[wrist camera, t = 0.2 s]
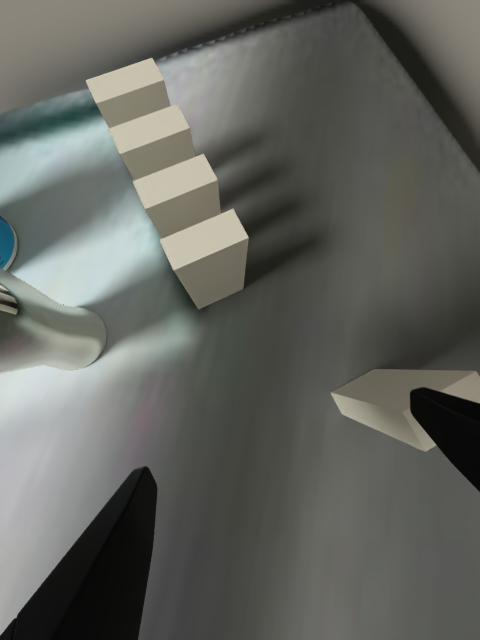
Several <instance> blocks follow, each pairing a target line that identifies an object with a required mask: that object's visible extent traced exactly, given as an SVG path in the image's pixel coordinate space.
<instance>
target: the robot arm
mask: <svg viewBox="0 0 480 640" xmlns="http://www.w3.org/2000/svg"><path fill="white" fill-rule="evenodd" d="M410 411H411V414H412V416H413V417H414V418H415V420H416V421H417V422H418V423H419V424H420V426H421V427H422V428H423V429H424V431H425V432H426V433H427V434H428V435H429V437H430V438H431V439H432V440H433V441H434V443H435V444H436V445H437V446H438V448H439V449H440V450H441V451H442V452H443V454H444V455H445V456H446V457H447V458H448V459H449V461H450V462H451V463H452V464H453V465H454V466H455V467H456V468H457V469H458V470H459V471H460V472H461V473H462V474H463V475H464V476H465V477H466V478H467V479H468V480H469V481H470V482H471V483H472V484H473V486H474V487H475V488H476V489H477V490H478V491H479V492H480V403H477V402H473V401H470V400H467V399H463V398H460V397H457V396H453V395H450V394H446V393H443V392H440V391H436V390H433V389H430V388H426V387H420V388H416V389H413V390H411V391H410ZM156 502H157V484H156V482H155V480H154V478H153V476H152V474H151V472H150V470H149V468H148V467H146V466H144V467H141V468H137V469H135V470H133V471H132V472H131V473H130V475H129V476H128V477H127V478H126V480H125V481H124V482H123V483H122V485H121V486H120V487H119V488H118V490H117V491H116V492H115V493H114V495H113V496H112V497H111V498H110V500H109V501H108V502H107V503H106V505H105V506H104V507H103V508H102V510H101V511H100V512H99V513H98V515H97V516H96V517H95V518H94V520H93V521H92V522H91V523H90V525H89V526H88V527H87V528H86V530H85V531H84V532H83V533H82V535H81V536H80V537H79V538H78V540H77V541H76V542H75V543H74V545H73V546H72V547H71V548H70V550H69V551H68V552H67V553H66V555H65V556H64V557H63V558H62V560H61V561H60V562H59V563H58V564H57V566H56V567H55V568H54V569H53V571H52V572H51V573H50V574H49V576H48V577H47V578H46V579H45V581H44V582H43V583H42V584H41V586H40V587H39V588H38V589H37V591H36V592H35V593H34V594H33V596H32V597H31V598H30V599H29V601H28V602H27V603H26V604H25V606H24V607H23V608H22V609H21V611H20V612H19V613H18V615H17V618H15V619H13V620H12V622H11V623H10V624H9V625H8V627H7V628H6V629H5V630H4V632H3V633H2V634H1V635H0V640H138V636H139V630H140V624H141V618H142V612H143V606H144V600H145V594H146V588H147V582H148V576H149V569H150V563H151V557H152V550H153V541H154V528H155V515H156Z"/></svg>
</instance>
